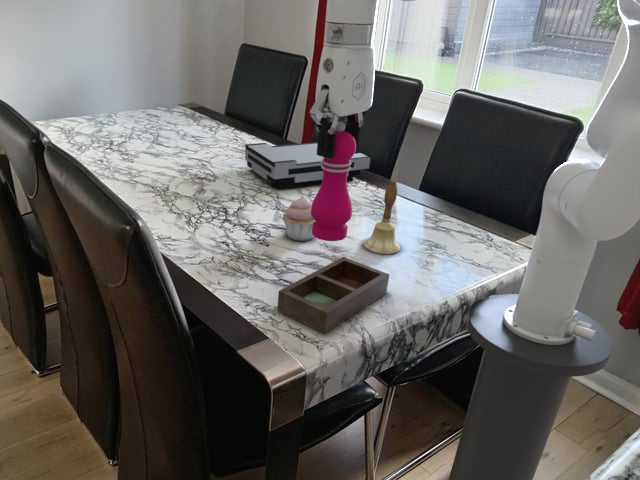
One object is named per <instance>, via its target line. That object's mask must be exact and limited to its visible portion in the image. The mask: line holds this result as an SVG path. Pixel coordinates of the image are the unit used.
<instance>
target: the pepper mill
mask: <svg viewBox="0 0 640 480" xmlns="http://www.w3.org/2000/svg"><path fill="white" fill-rule="evenodd" d="M345 124H346V123H345V122H343V121H341V120H340V121H339V120H338V121H337V124H336V127H335V131H334V133H335V134H336V145H335V155H334V158H332V159H329V158H326V157H324V158H323V159H322V161H321V162H322V165H321V168H322V169H323V179H322V183H321V185H319V186H320V187H319V189H318V191H317V193H316V195H315V196H314V198H313V201H312V207H311V215H312V217H313V219H314V220H315V222H314V223H313V225H312V234H313V236H314V237H313V238H316V239H317V240H321V241H325V242H339V241H342V240H345V239H346V238H347V236H348V229H349V228H348V224H347V223H348V222H350V221H351V218H352V216H353V204H352V200H351V197H350V194H349V190H348V182H347V174H348V171H349V170H350V169H351V167H350V165H351V161H350V158H351V157H352V156H353V155H354V154H356V152H357V151H356V141H355V139H354V137H353V136H352V135H351V134H350V133H348V132H346V131H344V130H345Z"/></svg>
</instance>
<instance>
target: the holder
mask: <svg viewBox="0 0 640 480" xmlns="http://www.w3.org/2000/svg"><path fill="white" fill-rule="evenodd" d="M389 279H390V273H387V272H384V271H381V270H380V269H377V268H374V267H371V266H370V265H369V266H368V265H366V264H363V263H360V262H358V261H355V260H353V259H350V258H347V257H345V256H342V257H339V258H338V259H336V260H334V261H332V262H331V263H328V264H326V265H325V266H323V267H321V268H319V269H317V270H316V271H314V272H312V273H310V274H308V275H306V276H303V278H300V279H298V280H297V281H295V282H292V283H291V284H289V285H287V286H285V287H284V288H282V289H280V290H278V294H277V312H278V313H281V314H283V315H285V316H287V317H289V318H291V319H293V320H295V321H297V322H299V323H301V324H304V325H306V326H308V327H310V328H312V329H314V330H315V331H318V332H320V333H322V334H324V335H326V334H327V333H329V332H330V331H332V330H334V329H335V328H336V327H338V326H340V325H341V324H342V323H344V322H346V321H347V320H348V319H349V318H352V317H353V316H354V315H356V314H358V313H359V312H360V311H362V310H364V309H365V308H367V307H368V306H369V305H371V304H373V303H374V302H376V301H377V300H379V299H380V298H382V297H384V296H385V295H386V294H387V292H388V286H389V281H390V280H389Z"/></svg>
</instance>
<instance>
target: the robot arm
mask: <svg viewBox="0 0 640 480" xmlns="http://www.w3.org/2000/svg"><path fill="white" fill-rule="evenodd" d="M414 1H416V0H401V2H414ZM378 7H379V0H326V13H325V22H324V23H325V24H324V34H323V35H324V37H323V46H322V51H321V55H320V60H319V65H318V71H317V78H316V88H315V99H314V100H315V101H314V102H313V105H312V106H311V108H310V110H309V115H310V117H311V118H312V120H313V123H314V125H315V126H316V128H315V130H316V131H317V142H318V143H317V155H318V156H322V157H326V158H329V159H332V158H334V155H335V145H336V134H335V133H334V131H335V127H336V124H337V122H338V121H339V118H342V117H344V121H345V123H344V124H345V130H344V131H346V132H348V133H350V134H351V135H352V136H353V137H354V139H355V141H356V151H355V152H357V151H358V150H359V144H360V137H361V136H360V135H361V127H363V125H364V117H365V116H366V114H367V111H368V110H369V109H370V108H371V107H372V105H373V100H374V99H373V98H374V87H375V74H376V73H375V72H376V71H375V69H376V53H375V45H374V43H375V42H374V41H375V33H376V25H377V18H378V17H377V16H378V9H379V8H378ZM617 9H618V12H619V15H620V17H621V19H622V20H623V22H624V24H625V28H626V32H627V36H628V37H627V40H628V41H627V43H628V44H627V49H626V53H625V57H624V59H623V62H622V64H621V66H620V67H619V70H618V72H617V74H616V76H615V77H614V79H613V81H612V82H611V85H610V86H609V88H608V89H607V91H606V93H605V95H604V97H603V98H602V100H601V102H600V103H599V106H598V107H597V109H596V110H595V112H594V114H593V116H592V117H591V119H590V121H589V123H588V124H587V127H586V131H585V139H586V142H587V144H588V146H589V147H590V149H591V150H592V151H593V152H595V153H596V154H597V155H598V156H600V157H601V158H603V161H602V162H601V164H600V163H598V162H596V161H593V160H589V159H584V158H583V159H580V158H579V159H573V160H569V161H566V162H563V164H561V165H559V166H558V167H557V168H556V169H554V171H553V172H552V173H551V174H550V176H549V178H548V179H547V182H546V185H545V186H544V190H543V196H542V203H541V212H540V219H539V223H538V227H537V231H536V235H535V238H534V241H533V245H532V248H531V251H530V255H529V258H528V261H527V265H526V268H525V272H524V276H523V279H522V282H521V286H520V289H519V293H518V294H519V296H518V299H517V302H516V306H513V307H510V308H508V309H507V310H506V311H505V313H504V316H503V322H504V324H505V325H506V327H507V328H508V329H509V330H510V331H512V332H513V333H515V334H516V335H518V336H520V337H522V338H524V339H527V340H529V341H532V342H536V343H540V344H546V345H562V344H566V343H569V342H571V341H572V340H573V339H574V338H575V335H577V336H580V337H581V338H584V339H586V340H589V341H592V340H593V338H594V336H595V333H596V331H594V330H591V327H592V325H591V324H588V323H586V322H582V321H579V319H578V318H576V315H577V313H578V311H579V310H578V309H576V306H577V303H578V300H579V298H580V294H581V291H582V288H583V285H584V283H585V281H586V277H587V274H588V272H589V269H590V266H591V263H592V261H593V258H594V255H595V252H596V250H597V245H598V242H600V241H601V242H602V241H610V240H614V239H617V238H620V237H621V236H622V235H624V234H625V233H627V232H628V231H629V230H630V229H632V228H633V227H634V226H635V225H636V223H638V221H639V220H640V0H617ZM327 118H330V121H329V120H328V119H327ZM574 309H576V310H574ZM577 310H578V311H577Z"/></svg>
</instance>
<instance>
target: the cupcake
mask: <svg viewBox="0 0 640 480" xmlns="http://www.w3.org/2000/svg"><path fill="white" fill-rule="evenodd" d="M312 203H313V201H310V200H309V199H308V198H307V197H306V196H304V195H302V196H301V197H300V198H298V199H295V200H294V201H292V202H291V204H290V205H289V206H288V207H287V209H286V212H285V213H282V221H283V223H284V225H285V231H286V235H287V237H288V238H289V239H290V240H293V241H299V242H306V241H310V240H312V239H313V238H315V237H314V236H313V234H312V225H313V223H314V222H315V220H314V219H313V217H312V215H311V207H312Z"/></svg>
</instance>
